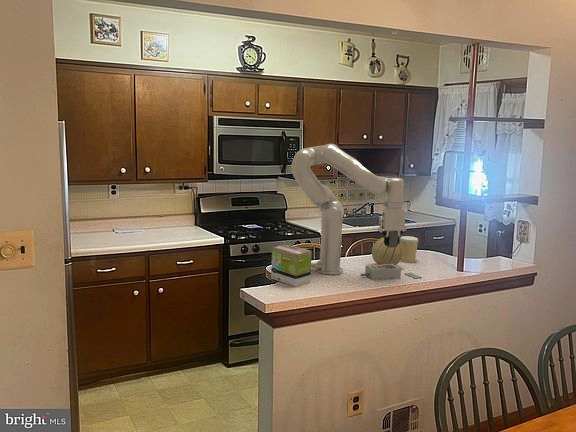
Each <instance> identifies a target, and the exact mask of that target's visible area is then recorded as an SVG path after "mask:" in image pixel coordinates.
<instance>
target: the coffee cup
mask: <svg viewBox="0 0 576 432" xmlns="http://www.w3.org/2000/svg"><path fill="white" fill-rule="evenodd" d="M399 244H400V245H401V247H402V258H401V261H400V262H402V261H403V263H415V262H416V258H417V257H416V256H417V252H418V245H419V238H418V237H415V236H412V235H411V236H410V235H409V236H408V235H405V236H404V235H403V236H402V235H401V236H400V237H399Z"/></svg>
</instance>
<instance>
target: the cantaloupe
mask: <svg viewBox="0 0 576 432" xmlns="http://www.w3.org/2000/svg"><path fill="white" fill-rule="evenodd" d="M371 256H372V259H373V261H374V262H375V263H376V265H382V264H394V265H396V266H397V265H398V264H399V263H400V262H401V261H400V260H401V258H402V247H401V245H400V242H399V243H398V245H397V247H391V248H389V247H387V246H385V244H384V237H381V238H379V239H378V240H376V241H375V242H374V244H373V245H372V249H371Z"/></svg>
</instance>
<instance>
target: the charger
mask: <svg viewBox="0 0 576 432" xmlns="http://www.w3.org/2000/svg"><path fill="white" fill-rule="evenodd" d="M388 237H389V246H387V245H385V246H387V247H389V248H391V247H397V241H398V232H397V231H389V236H388Z"/></svg>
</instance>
